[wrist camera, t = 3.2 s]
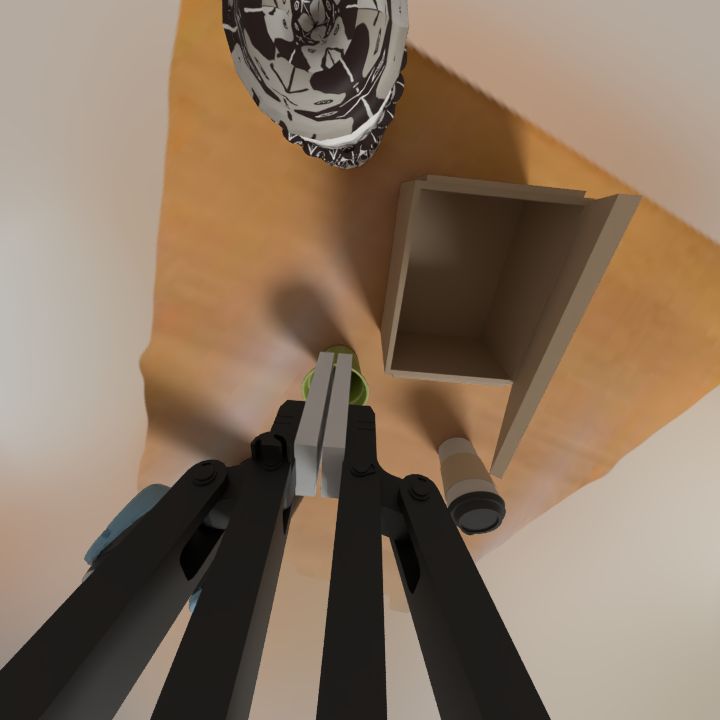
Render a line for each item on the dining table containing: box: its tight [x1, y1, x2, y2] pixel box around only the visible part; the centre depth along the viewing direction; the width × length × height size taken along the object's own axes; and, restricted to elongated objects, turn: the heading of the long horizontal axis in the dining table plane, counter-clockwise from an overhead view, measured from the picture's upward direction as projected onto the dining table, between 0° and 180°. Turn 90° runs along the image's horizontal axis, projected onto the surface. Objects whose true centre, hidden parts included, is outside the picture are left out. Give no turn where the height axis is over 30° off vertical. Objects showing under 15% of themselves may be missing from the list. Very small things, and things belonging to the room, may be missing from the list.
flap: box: [490, 194, 642, 479], centre depth 25 cm, size 16×20×1 cm
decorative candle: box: [222, 0, 409, 169], centre depth 22 cm, size 9×9×25 cm
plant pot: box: [302, 345, 369, 406], centre depth 45 cm, size 9×9×9 cm
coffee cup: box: [438, 437, 506, 535], centre depth 52 cm, size 9×9×15 cm
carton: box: [381, 174, 595, 387], centre depth 36 cm, size 16×21×12 cm
